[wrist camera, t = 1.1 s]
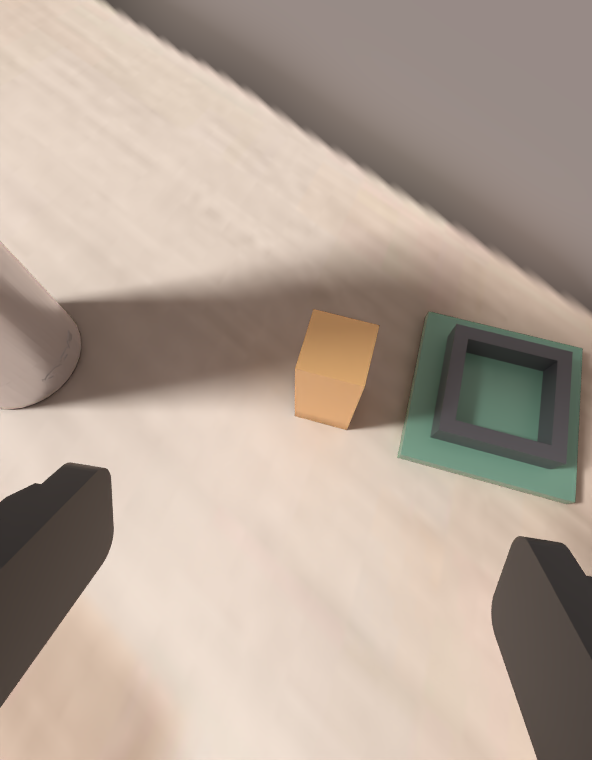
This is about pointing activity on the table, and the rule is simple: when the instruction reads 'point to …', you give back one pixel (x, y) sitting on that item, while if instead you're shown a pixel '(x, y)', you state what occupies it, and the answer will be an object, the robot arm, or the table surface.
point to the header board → (495, 407)
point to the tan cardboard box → (333, 368)
